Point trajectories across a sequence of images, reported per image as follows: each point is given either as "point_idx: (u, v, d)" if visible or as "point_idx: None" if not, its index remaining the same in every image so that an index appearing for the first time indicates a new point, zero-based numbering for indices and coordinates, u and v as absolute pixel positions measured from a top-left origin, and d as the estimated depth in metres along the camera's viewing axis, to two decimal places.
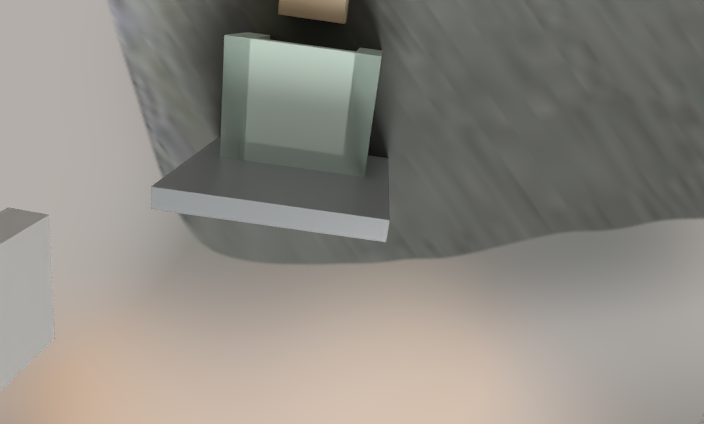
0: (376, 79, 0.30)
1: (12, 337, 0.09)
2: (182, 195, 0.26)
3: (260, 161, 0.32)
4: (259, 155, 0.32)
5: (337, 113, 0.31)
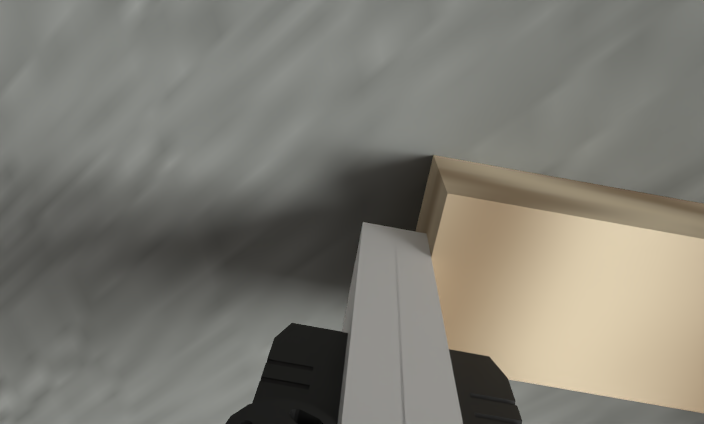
0: None
1: None
2: None
3: None
4: None
5: None
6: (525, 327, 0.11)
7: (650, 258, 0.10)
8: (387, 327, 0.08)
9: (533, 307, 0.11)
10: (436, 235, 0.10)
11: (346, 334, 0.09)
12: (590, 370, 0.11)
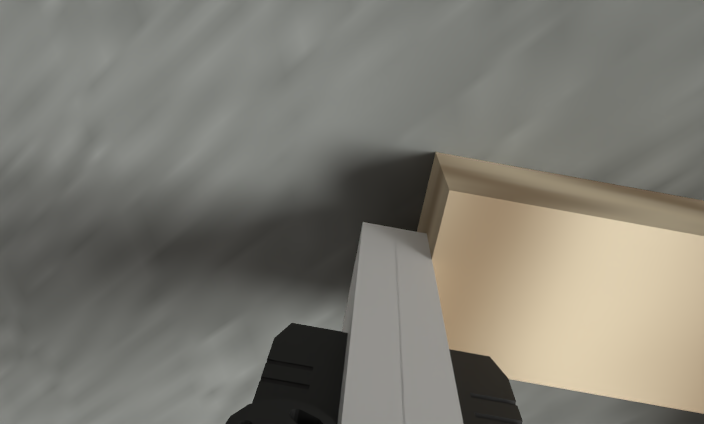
0: None
1: None
2: None
3: None
4: None
5: None
6: (528, 327, 0.11)
7: (655, 257, 0.10)
8: (387, 327, 0.08)
9: (536, 306, 0.11)
10: (438, 233, 0.10)
11: (346, 334, 0.09)
12: (594, 371, 0.11)
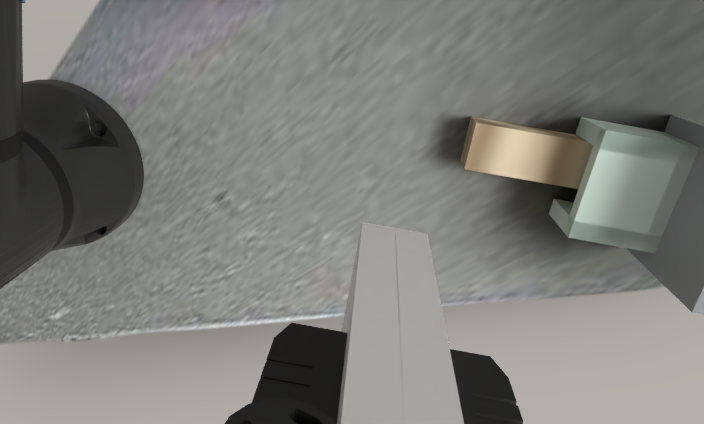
0: (622, 134, 0.39)
1: None
2: None
3: (665, 225, 0.41)
4: (660, 225, 0.41)
5: (642, 165, 0.40)
6: (495, 158, 0.43)
7: (525, 138, 0.42)
8: (388, 327, 0.08)
9: (497, 152, 0.43)
10: (473, 133, 0.43)
11: (345, 334, 0.09)
12: (512, 170, 0.43)
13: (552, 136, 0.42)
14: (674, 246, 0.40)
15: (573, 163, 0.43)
